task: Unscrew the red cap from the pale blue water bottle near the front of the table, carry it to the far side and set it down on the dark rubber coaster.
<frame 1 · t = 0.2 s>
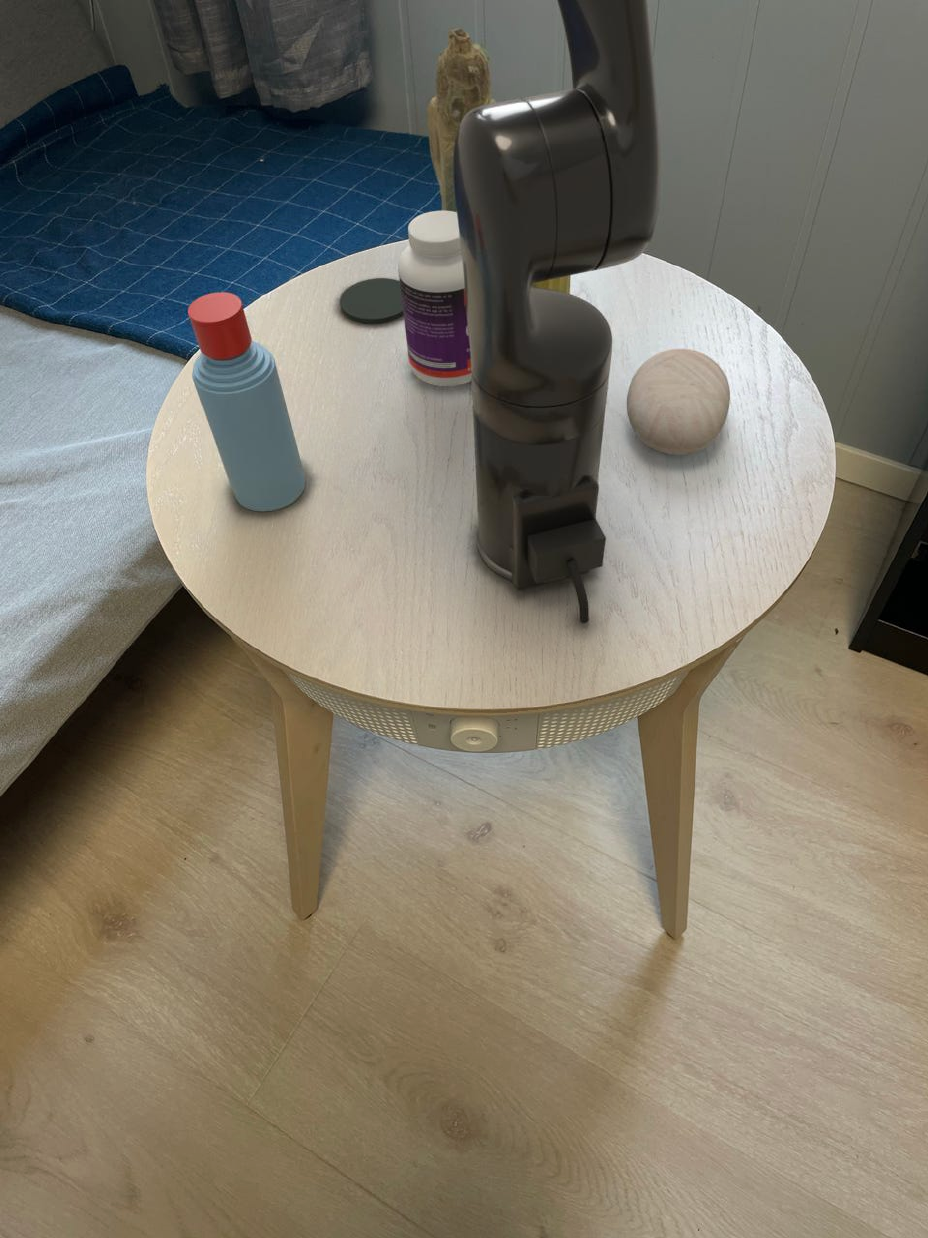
bottle: (270, 486, 76), on the table
decorative stone: (673, 424, 79), on the table
statue: (472, 290, 94), on the table
vase: (539, 341, 87), on the table
coaster: (377, 302, 93), on the table
pill bottle: (449, 368, 85), on the table
cap: (215, 310, 62), point 17 cm above the table, screwed on, not yet turned
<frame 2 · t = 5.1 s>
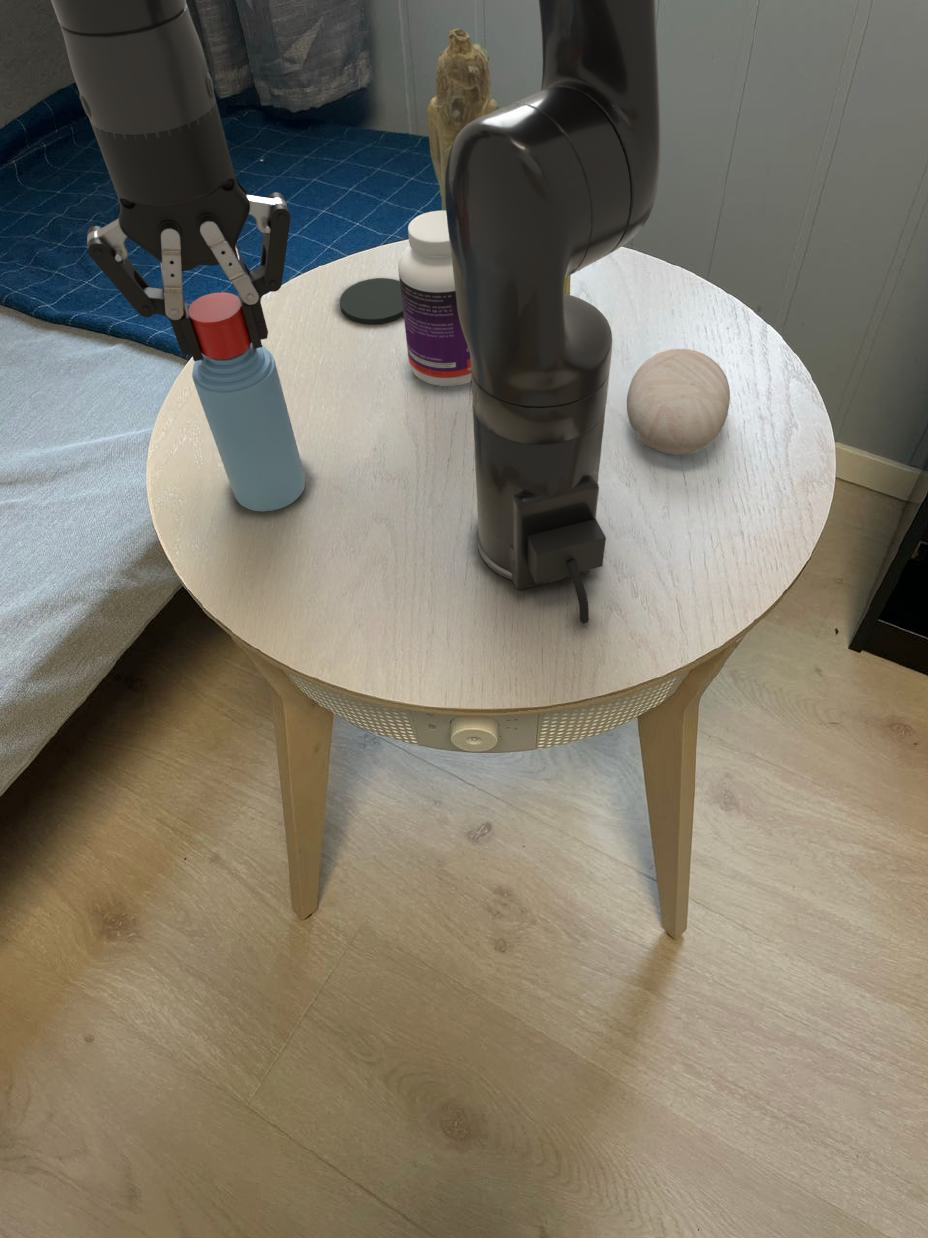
hand: (226, 347, 64), 14 cm above the table, tool pointing down, fingers closed on cap, 4 cm apart
cap: (215, 310, 62), point 17 cm above the table, screwed on, not yet turned, touching gripper
everything else where it was.
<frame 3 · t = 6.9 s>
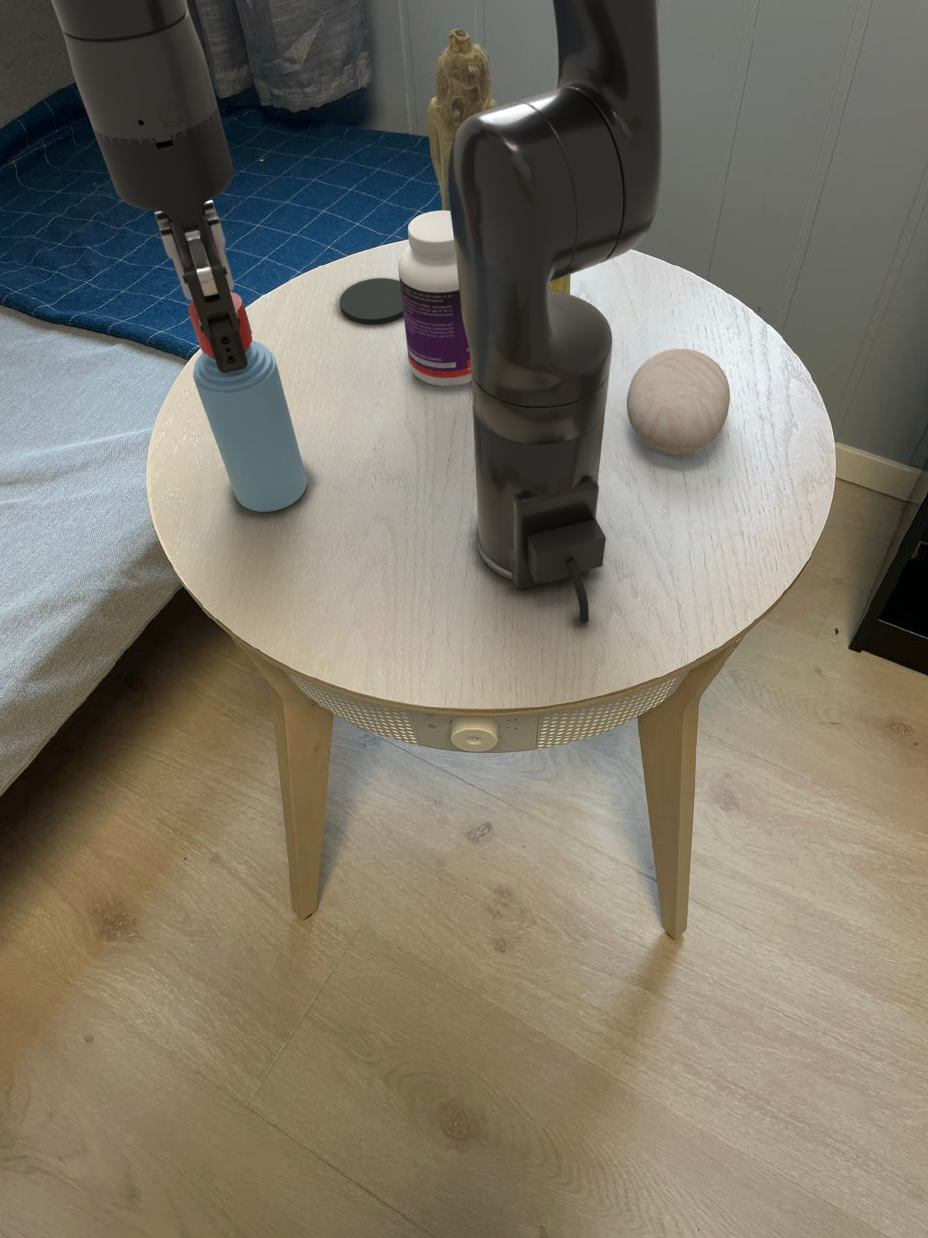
hand: (228, 351, 65), 14 cm above the table, tool pointing down, fingers closed on cap, 4 cm apart
bottle: (271, 486, 76), on the table
cap: (216, 308, 62), point 18 cm above the table, turned 93° so far, risen 0.1 cm, still on its thread, touching gripper
everything else where it was.
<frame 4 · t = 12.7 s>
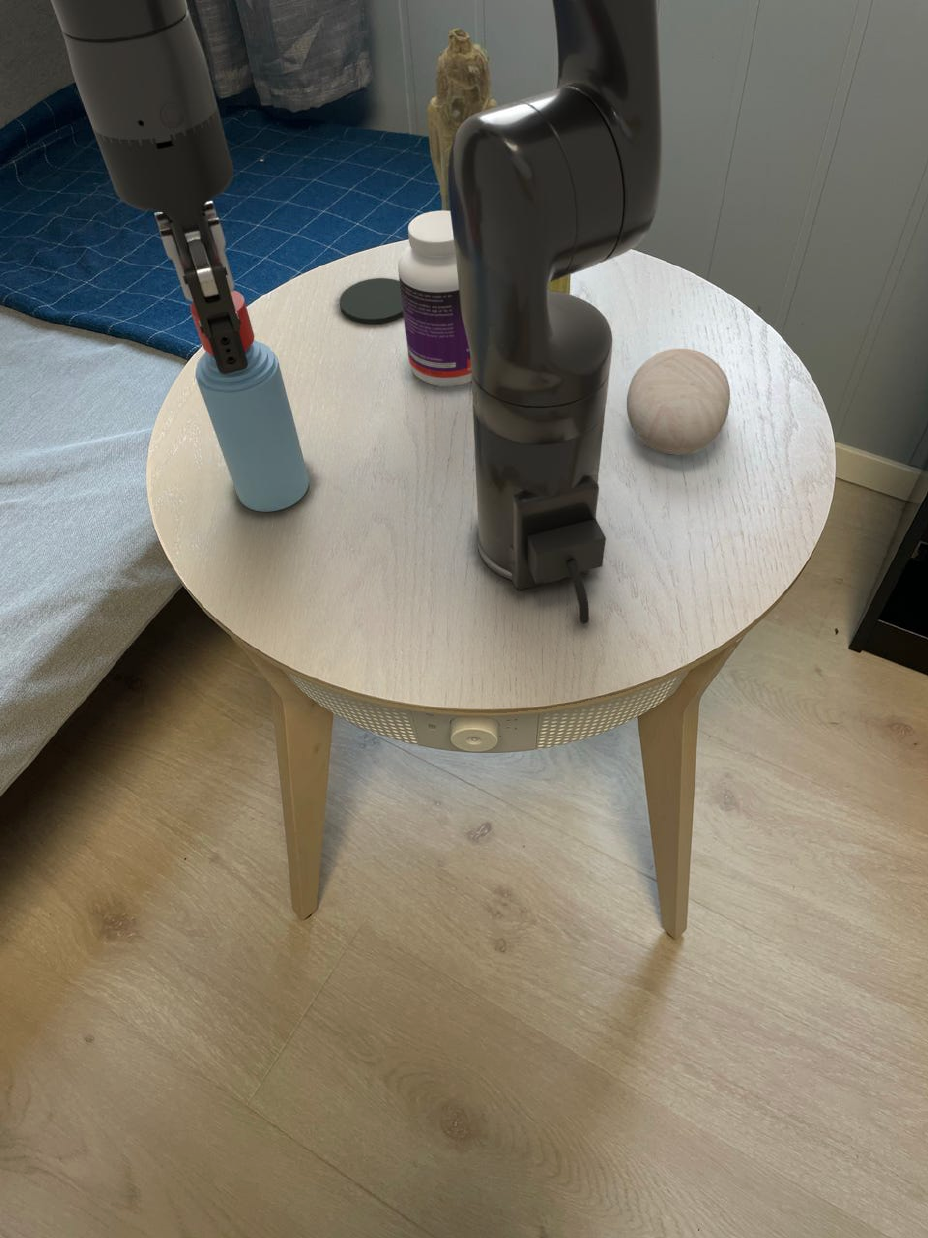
hand: (228, 351, 65), 14 cm above the table, tool pointing down, fingers closed on cap, 3 cm apart
cap: (218, 307, 62), point 18 cm above the table, turned 186° so far, risen 0.2 cm, still on its thread, touching gripper
everything else where it was.
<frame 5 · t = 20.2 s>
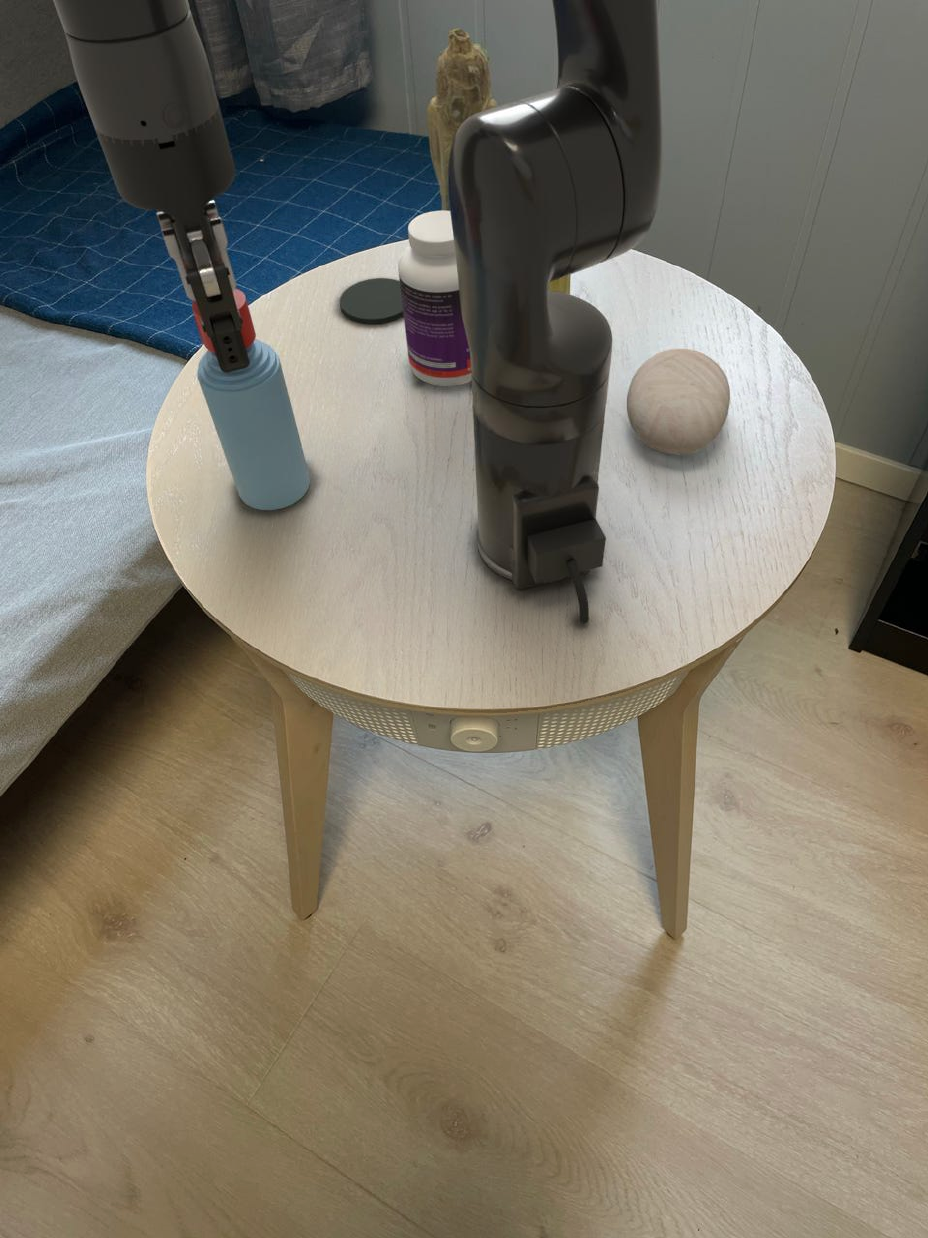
hand: (230, 351, 65), 14 cm above the table, tool pointing down, fingers closed on cap, 3 cm apart
bottle: (274, 485, 76), on the table, touching gripper
cap: (219, 305, 62), point 18 cm above the table, turned 280° so far, risen 0.3 cm, still on its thread, touching gripper
everything else where it was.
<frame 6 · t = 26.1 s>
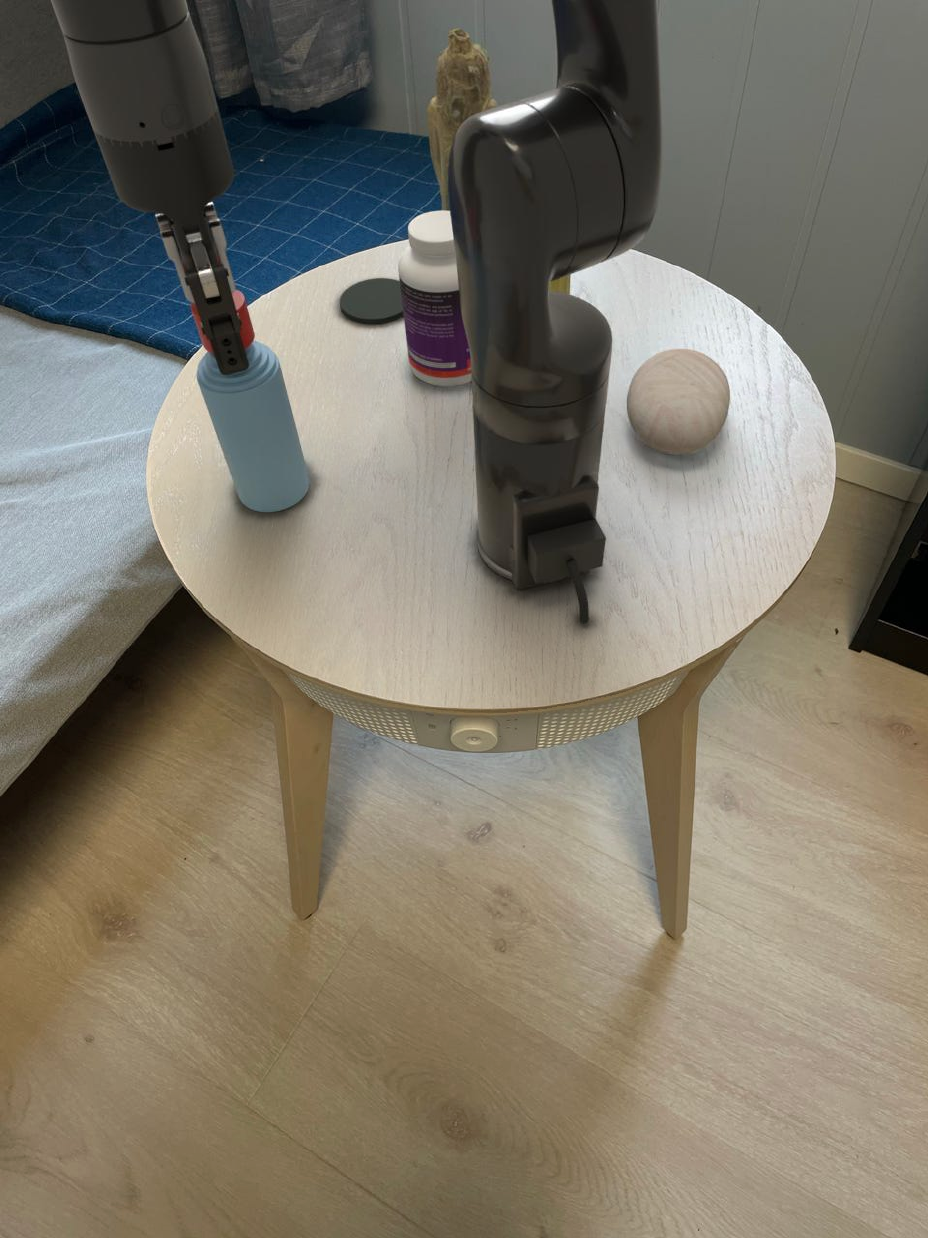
hand: (229, 352, 65), 14 cm above the table, tool pointing down, fingers closed on cap, 4 cm apart
cap: (218, 305, 62), point 18 cm above the table, turned 373° so far, risen 0.4 cm, still on its thread, touching gripper
everything else where it was.
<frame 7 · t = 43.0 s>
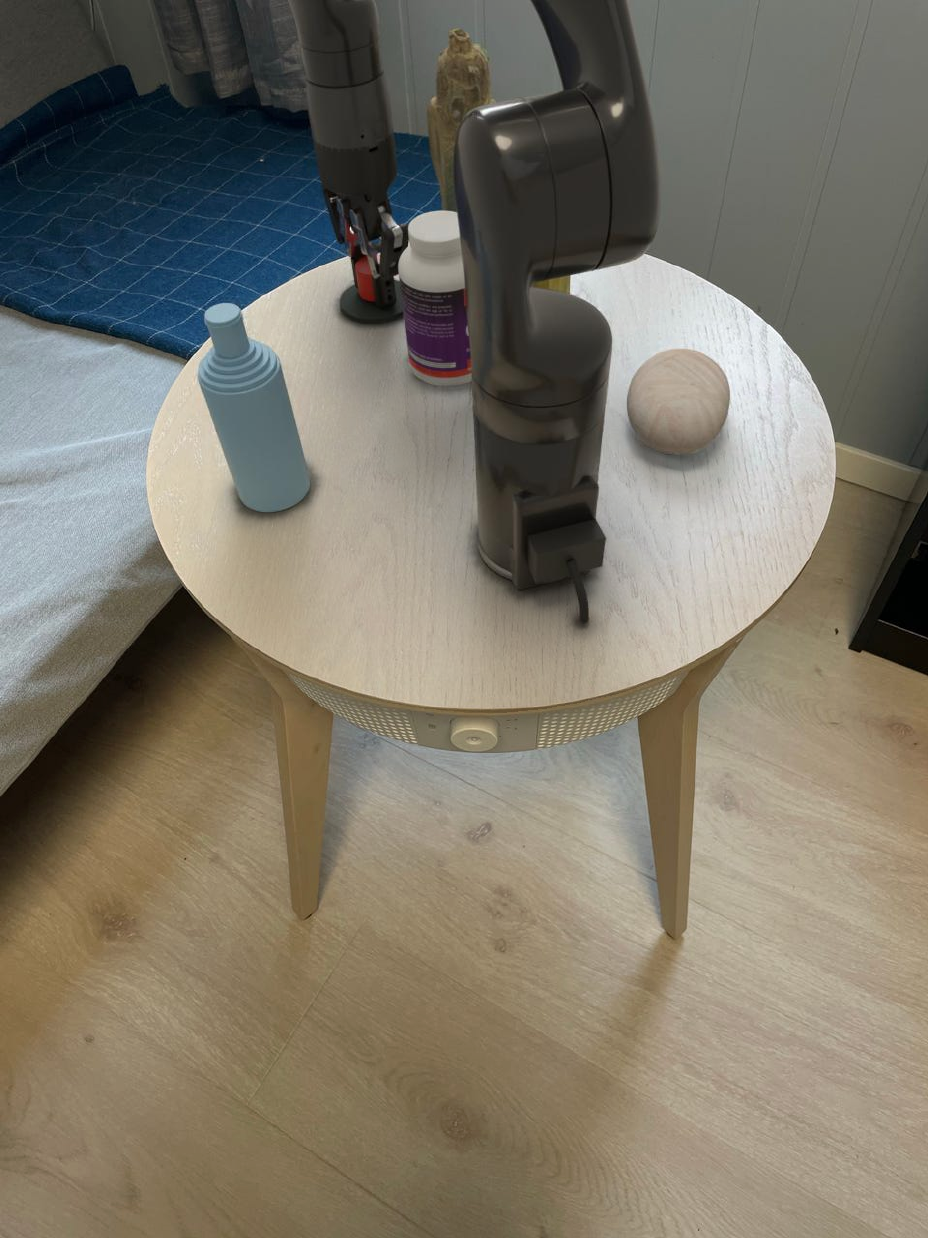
hand: (376, 295, 92), 1 cm above the table, tool pointing down, fingers closed on cap, 4 cm apart
bottle: (274, 486, 76), on the table
cap: (373, 266, 90), point 4 cm above the table, off its thread, touching gripper
everything else where it was.
when the fingers open (3 cm above the table, at t = 52.8 s): cap drops 3 cm, resting on coaster.
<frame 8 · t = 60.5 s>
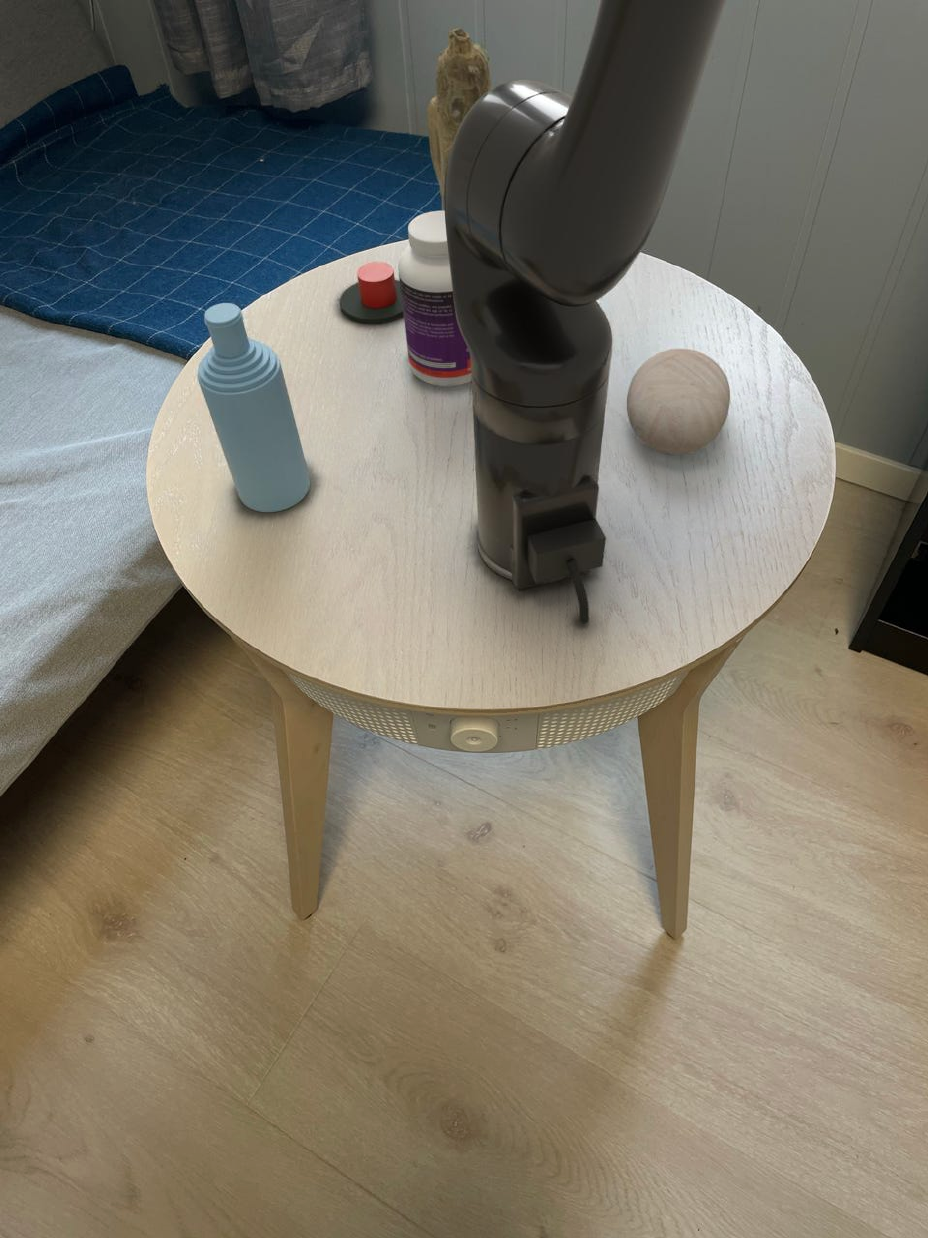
cap: (375, 274, 90), point 3 cm above the table, off its thread, touching coaster
everything else where it was.
at the end: cap came off its thread; cap inside the target area on the coaster (0.3 cm from its centre), point 3.4 cm above the coaster's base; the gripper is holding nothing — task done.
